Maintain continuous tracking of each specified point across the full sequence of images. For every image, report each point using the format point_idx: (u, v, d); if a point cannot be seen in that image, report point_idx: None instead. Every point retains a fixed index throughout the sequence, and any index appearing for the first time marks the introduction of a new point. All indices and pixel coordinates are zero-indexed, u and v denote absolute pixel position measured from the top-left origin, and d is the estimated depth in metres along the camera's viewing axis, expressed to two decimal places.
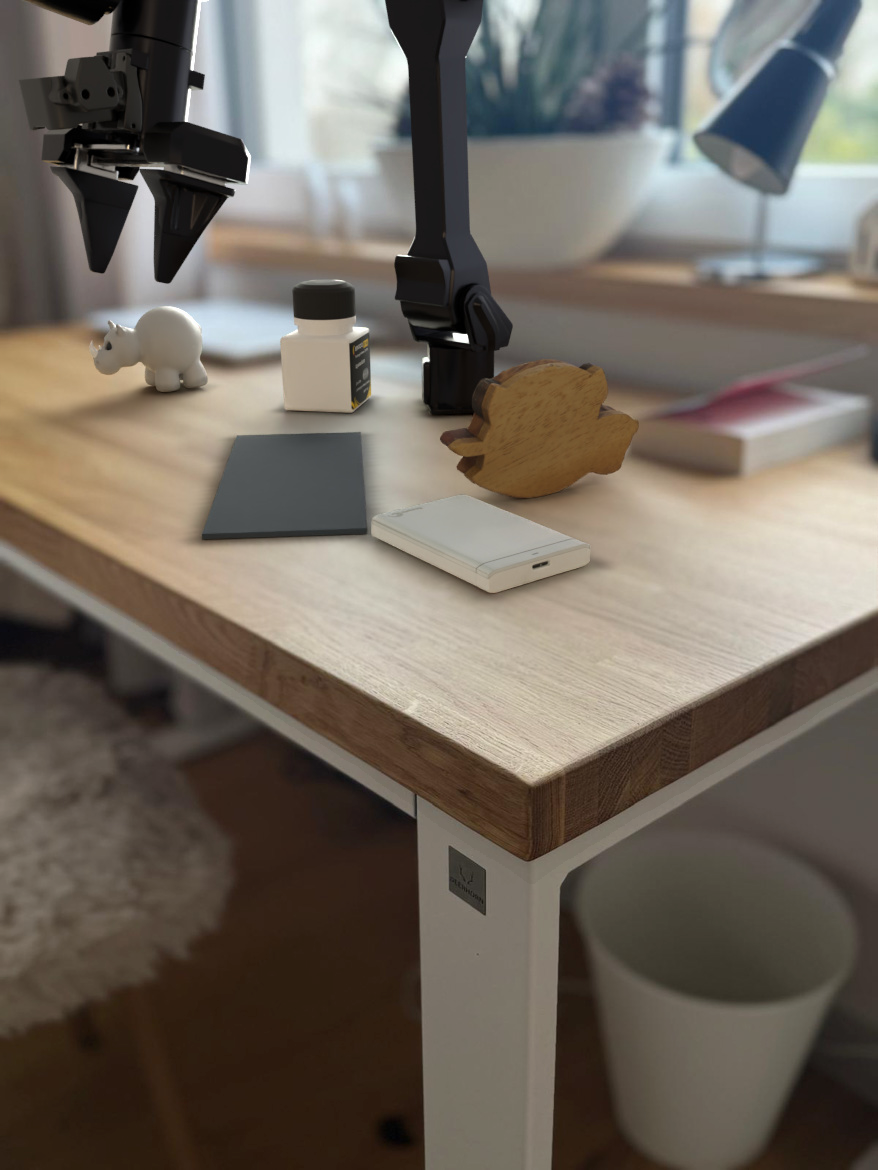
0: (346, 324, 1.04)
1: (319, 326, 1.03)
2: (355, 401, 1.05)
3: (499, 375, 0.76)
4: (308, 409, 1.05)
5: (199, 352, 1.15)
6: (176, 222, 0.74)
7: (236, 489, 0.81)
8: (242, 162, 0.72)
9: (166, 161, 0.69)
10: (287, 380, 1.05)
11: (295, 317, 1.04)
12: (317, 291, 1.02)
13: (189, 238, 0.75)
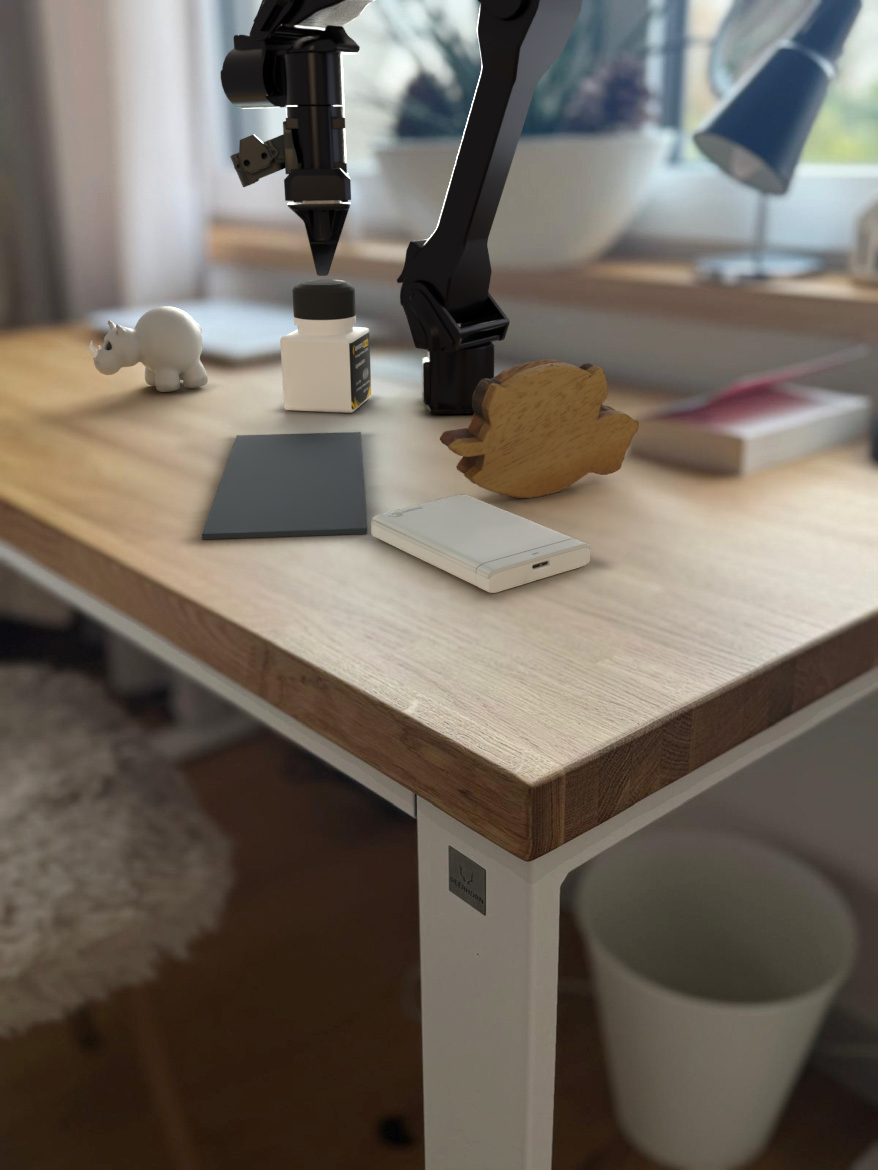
0: (346, 324, 1.04)
1: (319, 326, 1.03)
2: (355, 401, 1.05)
3: (499, 375, 0.76)
4: (308, 409, 1.05)
5: (199, 352, 1.15)
6: (319, 233, 1.06)
7: (236, 489, 0.81)
8: (340, 186, 1.00)
9: (285, 199, 1.01)
10: (287, 380, 1.05)
11: (295, 317, 1.04)
12: (317, 291, 1.02)
13: (331, 242, 1.06)
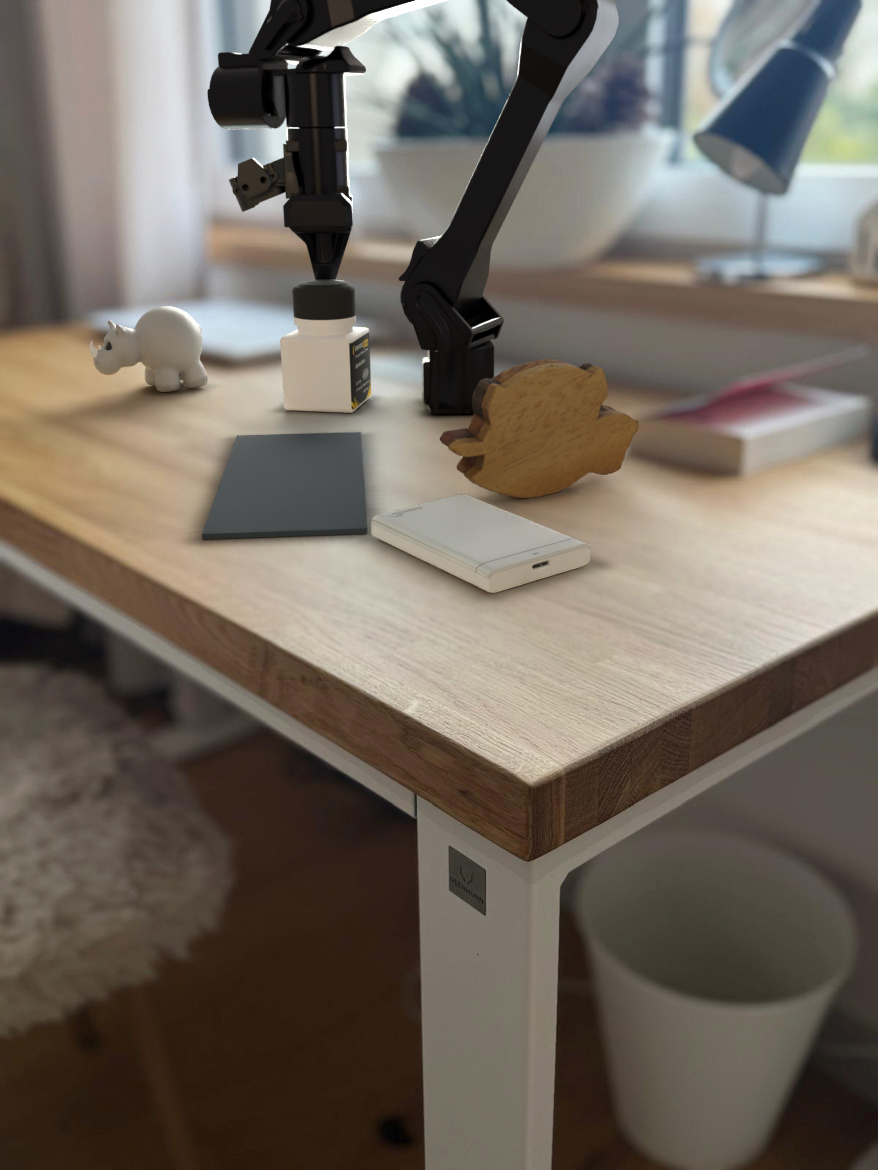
0: (346, 324, 1.04)
1: (319, 326, 1.03)
2: (355, 402, 1.05)
3: (499, 375, 0.76)
4: (308, 409, 1.05)
5: (199, 352, 1.15)
6: (321, 255, 1.06)
7: (236, 489, 0.81)
8: (341, 212, 0.97)
9: (284, 226, 0.98)
10: (287, 380, 1.05)
11: (295, 317, 1.04)
12: (317, 291, 1.01)
13: (333, 264, 1.06)
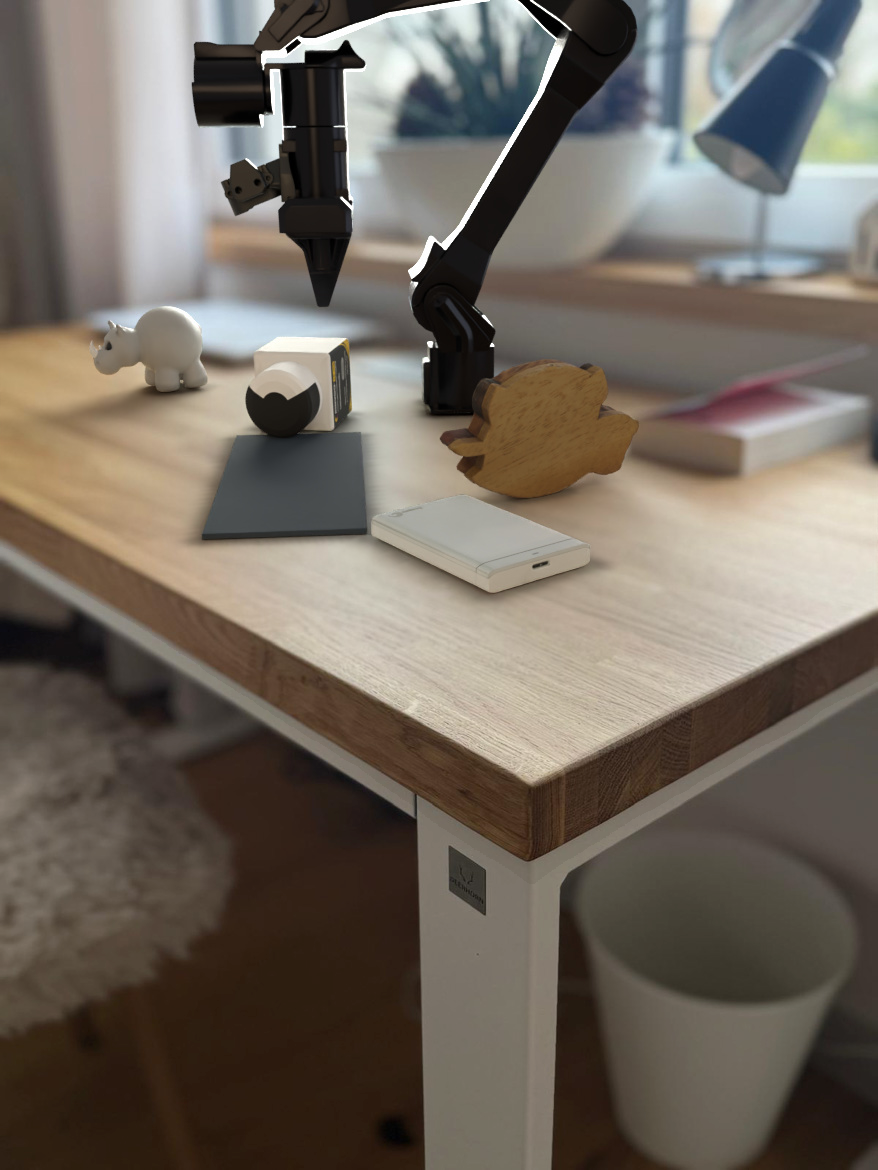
0: (318, 412, 0.97)
1: None
2: (350, 405, 1.03)
3: (499, 375, 0.76)
4: None
5: (199, 352, 1.15)
6: (319, 263, 0.99)
7: (236, 489, 0.81)
8: (340, 217, 0.90)
9: (279, 232, 0.91)
10: None
11: None
12: (283, 436, 0.95)
13: (332, 272, 1.00)
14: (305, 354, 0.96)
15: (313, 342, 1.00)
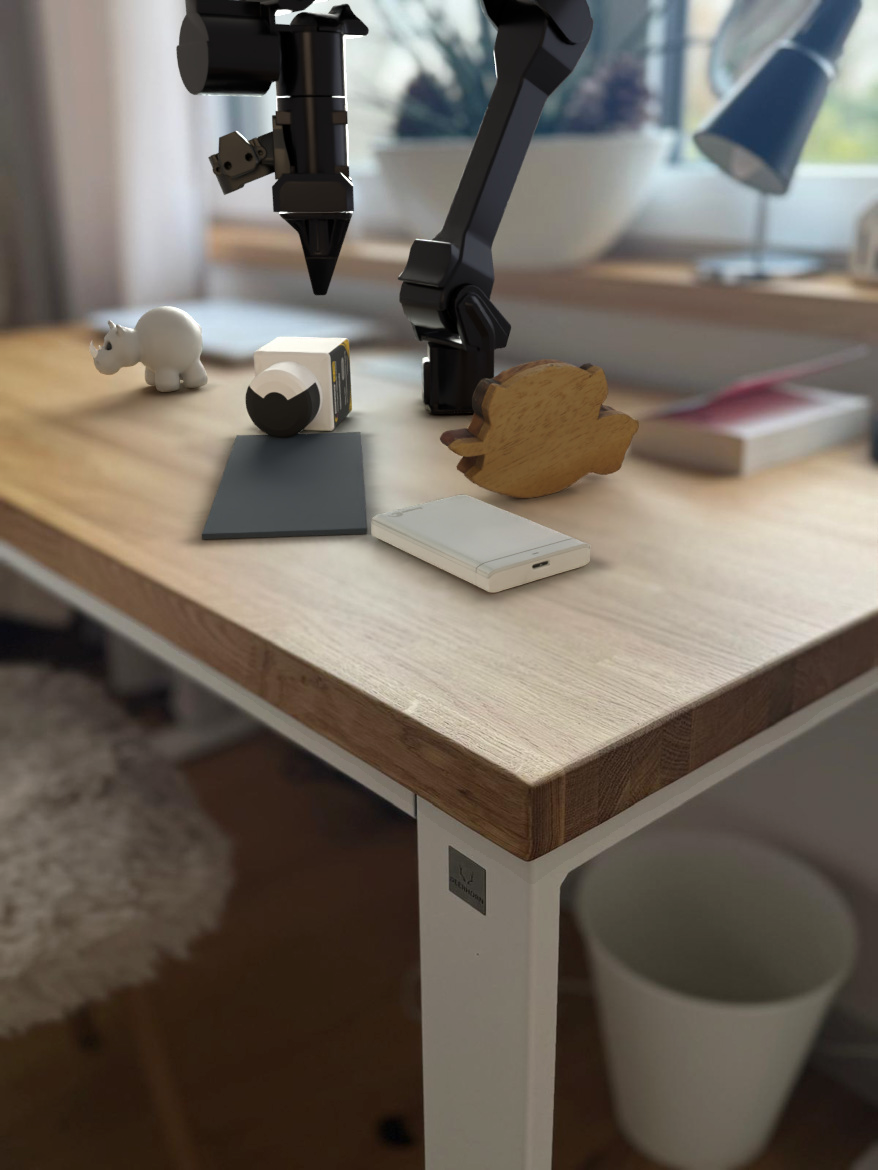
0: (318, 412, 0.97)
1: None
2: (350, 405, 1.03)
3: (499, 375, 0.76)
4: None
5: (199, 352, 1.15)
6: (316, 247, 0.91)
7: (236, 489, 0.81)
8: (340, 194, 0.82)
9: (273, 210, 0.83)
10: None
11: None
12: (283, 436, 0.95)
13: (330, 257, 0.91)
14: (305, 354, 0.96)
15: (313, 342, 1.00)
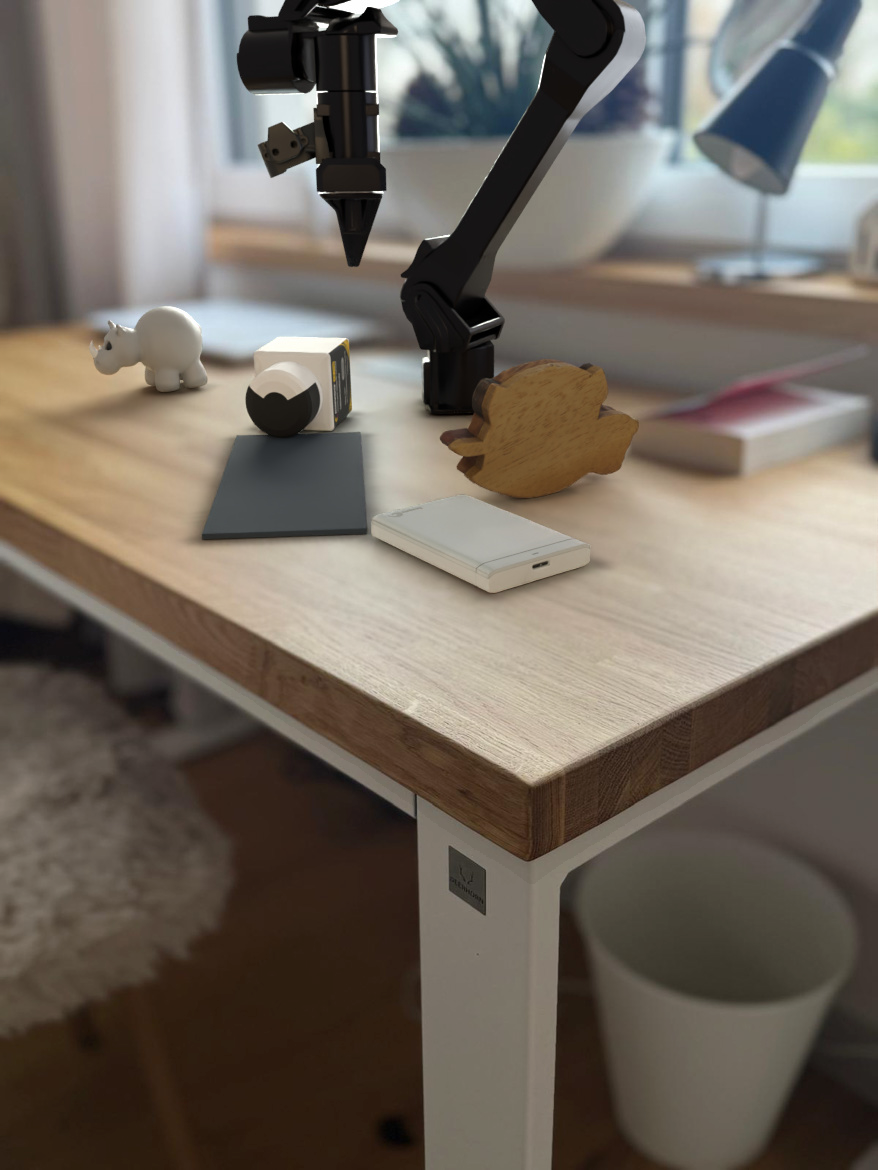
0: (318, 412, 0.97)
1: None
2: (350, 405, 1.03)
3: (499, 375, 0.76)
4: None
5: (199, 352, 1.15)
6: (351, 223, 1.04)
7: (236, 489, 0.81)
8: (375, 176, 0.95)
9: None
10: None
11: None
12: (283, 436, 0.95)
13: (363, 232, 1.04)
14: (305, 354, 0.96)
15: (313, 342, 1.00)
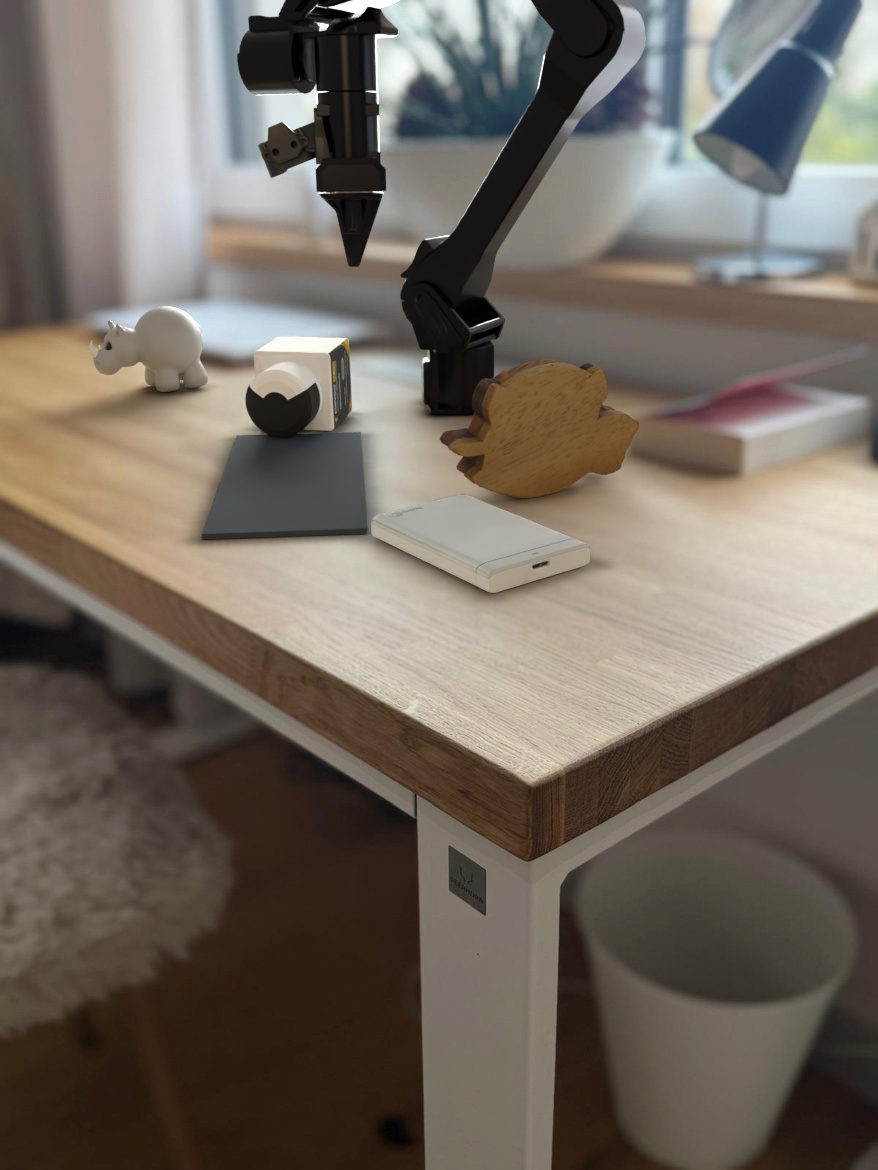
0: (318, 412, 0.97)
1: None
2: (350, 405, 1.03)
3: (499, 375, 0.76)
4: None
5: (199, 352, 1.15)
6: (351, 223, 1.04)
7: (236, 489, 0.81)
8: (374, 176, 0.95)
9: None
10: None
11: None
12: (283, 436, 0.95)
13: (363, 232, 1.04)
14: (305, 354, 0.96)
15: (313, 342, 1.00)
